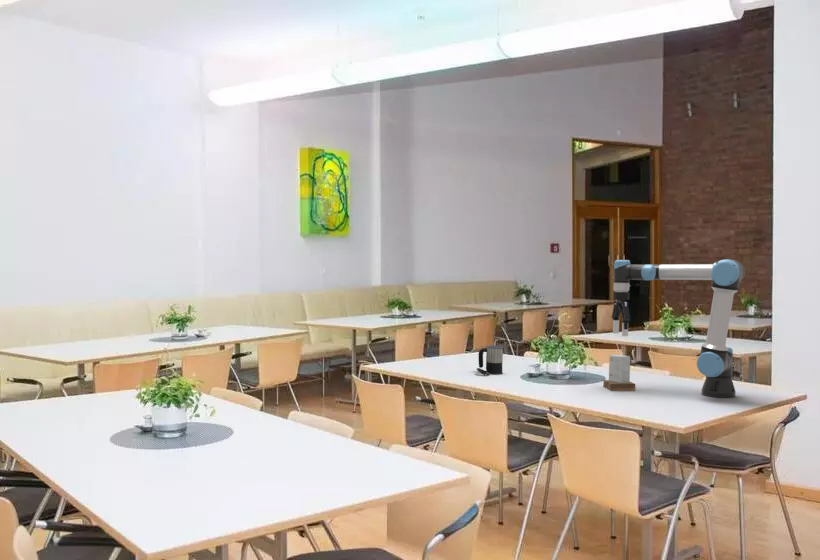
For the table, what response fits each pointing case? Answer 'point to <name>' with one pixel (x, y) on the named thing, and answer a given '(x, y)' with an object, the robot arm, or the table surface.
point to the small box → (619, 368)
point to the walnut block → (618, 386)
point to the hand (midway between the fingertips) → (620, 334)
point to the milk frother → (491, 360)
